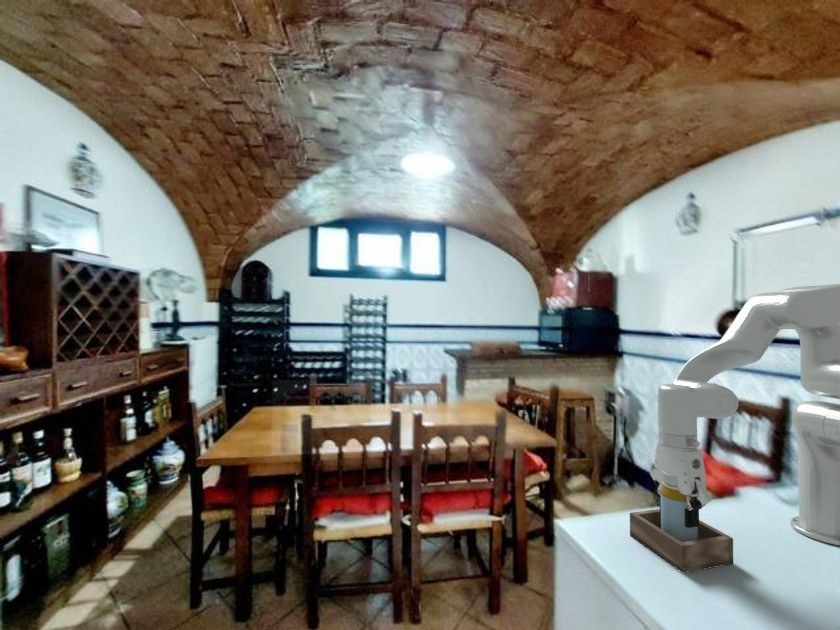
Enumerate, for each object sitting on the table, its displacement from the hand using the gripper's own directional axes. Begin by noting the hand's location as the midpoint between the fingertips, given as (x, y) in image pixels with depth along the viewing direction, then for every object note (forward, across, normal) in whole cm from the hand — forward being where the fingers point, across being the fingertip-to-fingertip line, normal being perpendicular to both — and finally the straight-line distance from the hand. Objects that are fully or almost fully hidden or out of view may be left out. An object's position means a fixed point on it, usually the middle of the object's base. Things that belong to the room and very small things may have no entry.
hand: (678, 518), depth 94 cm
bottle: (+5, 0, 0) cm, 5 cm away
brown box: (+7, 0, 0) cm, 7 cm away
